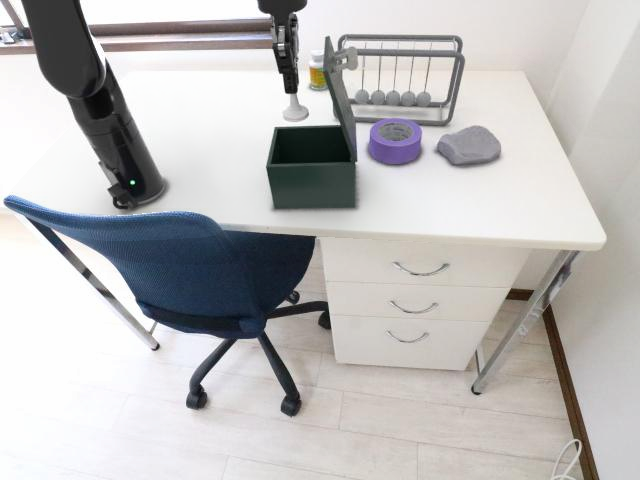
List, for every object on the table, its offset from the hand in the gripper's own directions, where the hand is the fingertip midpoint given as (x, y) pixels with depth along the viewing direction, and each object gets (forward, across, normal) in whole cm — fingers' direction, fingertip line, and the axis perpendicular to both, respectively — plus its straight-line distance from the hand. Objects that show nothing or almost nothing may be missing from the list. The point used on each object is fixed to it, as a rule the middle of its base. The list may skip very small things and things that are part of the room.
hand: (292, 88), depth 65 cm
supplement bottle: (+22, -46, +2) cm, 51 cm away
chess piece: (+5, 0, 0) cm, 5 cm away
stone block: (+22, -10, +38) cm, 45 cm away
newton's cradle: (+22, -29, +22) cm, 43 cm away
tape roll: (+22, -13, +21) cm, 33 cm away
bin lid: (+3, 0, +8) cm, 9 cm away
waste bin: (+22, 0, +3) cm, 22 cm away
